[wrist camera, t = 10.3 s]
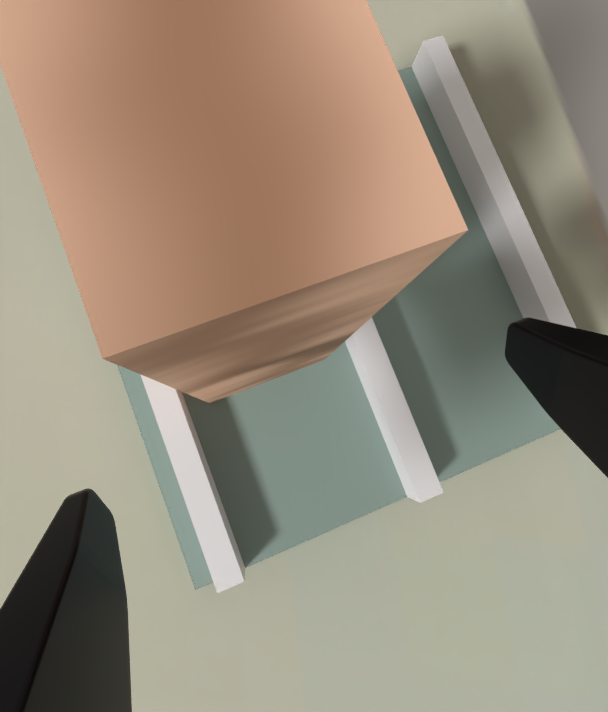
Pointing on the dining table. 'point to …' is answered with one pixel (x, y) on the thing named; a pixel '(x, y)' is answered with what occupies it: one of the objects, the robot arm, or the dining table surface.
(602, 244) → the dining table surface
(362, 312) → the plug block
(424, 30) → the dining table surface
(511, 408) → the slot board
